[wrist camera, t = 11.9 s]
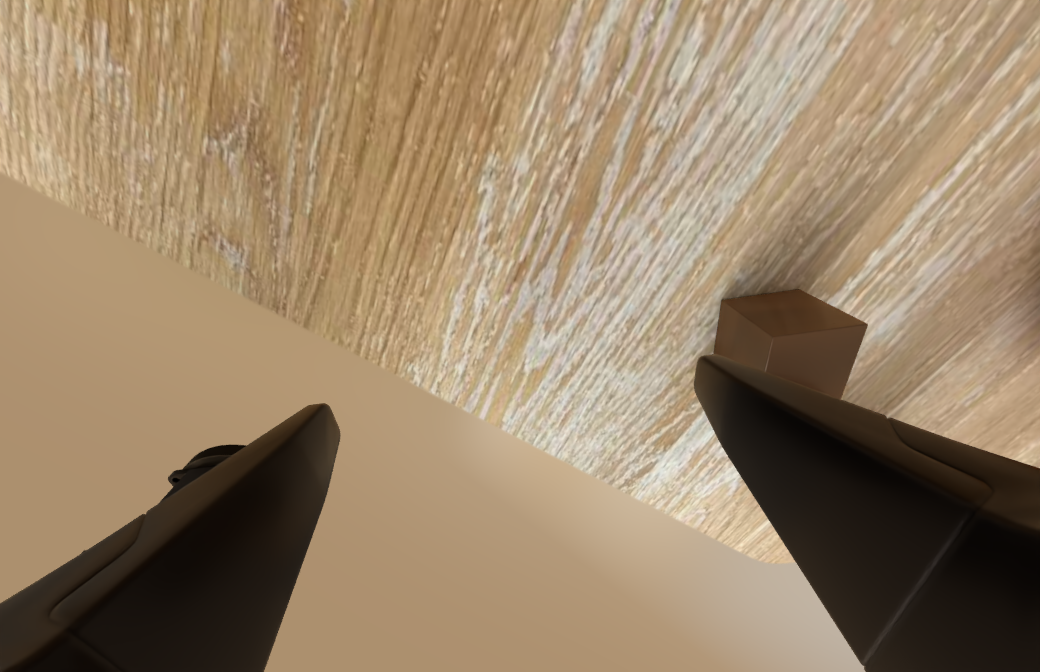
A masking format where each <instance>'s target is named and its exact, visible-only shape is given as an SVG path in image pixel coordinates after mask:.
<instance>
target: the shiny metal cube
mask: <svg viewBox="0 0 1040 672" xmlns="http://www.w3.org/2000/svg"><path fill="white" fill-rule="evenodd" d="M867 326H868V324H867V323H865V322H863V321H861V320H859V319H857V318H855V317H853V316H851V315H849V314H847V313H845V312H843V311H841V310H839V309H837V308H835V307H833V306H831V305H829V304H827V303H825V302H823V301H822V300H820V299H818V298H816V297H814V296H812V295H810V294H808V293H806V292H804V291H802V290H800V289H798V290H791V291H783V292H776V293H769V294H761V295H754V296H747V297H739V298H732V299H725V300H722V302H721V309H720V315H719V322H718V329H717V335H716V342H715V349H714V354H718V355H721V356H724V357H727V358H729V359H732V360H735V361H737V362H740V363H743V364H746V365H748V366H751V367H754V368H757V369H759V370H762V371H765V372H767V373H770V374H773V375H776V376H778V377H781V378H784V379H786V380H789V381H792V382H795V383H797V384H800V385H803V386H805V387H808V388H811V389H814V390H816V391H819V392H822V393H825V394H827V395H830V396H833V397H835V398H838V399H841V397H842V394H843V392H844V389H845V386H846V383H847V381H848V378H849V375H850V373H851V370H852V367H853V364H854V362H855V359H856V356H857V353H858V351H859V348H860V345H861V342H862V340H863V337H864V334H865V331H866V329H867Z"/></svg>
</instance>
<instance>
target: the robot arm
mask: <svg viewBox="0 0 1040 672" xmlns="http://www.w3.org/2000/svg"><path fill="white" fill-rule="evenodd" d="M694 389H695V393H696V395H697V397H698V399H699V401H700V403H701V405H702V407H703V409H704V411H705V414H706V416H707V418H708V420H709V422H710V424H711V426H712V428H713V430H714V432H715V434H716V436H717V438H718V440H719V442H720V443H721V445H722V447H723V449H724V450H725V452H726V454H727V455H728V457H729V458H730V460H731V461H732V463H733V465H734V466H735V468H736V469H737V471H738V472H739V474H740V475H741V477H742V479H743V480H744V482H745V483H746V485H747V486H748V488H749V490H750V491H751V493H752V494H753V496H754V497H755V499H756V500H757V502H758V504H759V505H760V507H761V508H762V510H763V511H764V513H765V515H766V516H767V518H768V519H769V521H770V522H771V524H772V525H773V527H774V529H775V530H776V532H777V533H778V535H779V536H780V538H781V540H782V541H783V543H784V544H785V546H786V547H787V549H788V550H789V552H790V554H791V555H792V557H793V558H794V560H795V561H796V563H797V564H798V566H799V568H800V569H801V571H802V572H803V574H804V575H805V577H806V578H807V580H808V581H809V583H810V585H811V586H812V588H813V589H814V591H815V593H816V594H817V596H818V597H819V599H820V600H821V602H822V603H823V605H824V607H825V608H826V610H827V611H828V613H829V614H830V616H831V618H832V619H833V621H834V622H835V624H836V625H837V627H838V629H839V630H840V631H841V633H842V635H843V636H844V638H845V639H846V641H847V642H848V644H849V646H850V647H851V649H852V650H853V652H854V654H855V655H856V657H857V658H858V660H859V661H860V663H861V664H862V665H863V666H865V667H864V670H865V671H866V672H1040V468H1037V467H1034V466H1031V465H1028V464H1024V463H1021V462H1018V461H1015V460H1012V459H1009V458H1006V457H1003V456H1000V455H997V454H994V453H990V452H987V451H984V450H981V449H978V448H975V447H972V446H969V445H966V444H963V443H960V442H957V441H954V440H951V439H948V438H946V437H943V436H940V435H937V434H934V433H932V432H929V431H926V430H923V429H920V428H917V427H915V426H912V425H909V424H906V423H904V422H901V421H898V420H896V419H893V418H888V419H887V417H886V416H884V415H882V414H879V413H876V412H874V411H871V410H868V409H865V408H863V407H860V406H857V405H854V404H852V403H849V402H846V401H844V400H841V399H838V398H835V397H833V396H830V395H827V394H825V393H822V392H819V391H816V390H814V389H811V388H808V387H805V386H803V385H800V384H797V383H795V382H792V381H789V380H786V379H784V378H781V377H778V376H776V375H773V374H770V373H767V372H765V371H762V370H759V369H757V368H754V367H751V366H748V365H746V364H743V363H740V362H737V361H735V360H732V359H729V358H727V357H724V356H721V355H718V354H712V355H704V356H701V357H699V359H698V361H697V366H696V373H695V380H694ZM339 442H340V429H339V427H338V424H337V422H336V420H335V417H334V415H333V413H332V410H331V409H330V407H329V405H327V404H325V403H323V404H314V405H309V406H307V407H305V408H303V409H302V410H300V411H299V412H297V413H296V414H294V415H293V416H291V417H290V418H288V419H287V420H285V421H284V422H282V423H281V424H279V425H278V426H276V427H275V428H273V429H272V430H270V431H268V432H267V433H265V434H264V435H262V436H261V437H260V438H258V439H257V440H255V441H253V442H252V443H250V444H249V445H247V446H246V447H244V448H243V449H241V450H240V451H238V452H237V453H235V454H234V455H232V456H230V457H229V458H227V459H226V460H224V461H223V462H221V463H220V464H218V465H212V466H205V467H197V468H190V469H183V470H176V471H174V472H173V473H172V474H171V475H170V476H169V477H168V480H169V482H170V483H171V484H172V486H173V488H172V489H171V490H170V492H169V493H168V494H167V495H166V496H165V497H164V498H163V499H162V500H161V502H160V503H159V504H158V505H156V506H154V507H153V508H151V509H150V510H148V511H147V513H146V514H142V515H141V516H139V517H138V518H136V519H134V520H133V521H132V522H130V523H128V524H127V525H125V526H124V527H122V528H121V529H119V530H118V531H116V532H115V533H113V534H112V535H110V536H108V537H107V538H105V539H104V540H103V541H101V542H99V543H97V544H96V545H94V546H93V547H91V548H90V549H88V550H86V551H83V552H82V553H81V554H80V555H79V556H77V557H76V558H74V559H72V560H71V561H69V562H67V563H66V564H64V565H63V566H61V567H59V568H58V569H56V570H54V571H53V572H51V573H49V574H48V575H46V576H45V577H43V578H41V579H40V580H38V581H36V582H35V583H33V584H31V585H30V586H28V587H26V588H25V589H23V590H22V591H20V592H18V593H17V594H15V595H13V596H12V597H10V598H8V599H7V600H5V601H3V602H2V603H0V672H264V670H265V667H266V664H267V661H268V659H269V656H270V653H271V650H272V647H273V644H274V642H275V639H276V636H277V633H278V630H279V628H280V625H281V622H282V619H283V617H284V614H285V611H286V608H287V605H288V603H289V600H290V597H291V594H292V591H293V589H294V586H295V583H296V580H297V577H298V575H299V572H300V569H301V566H302V563H303V561H304V558H305V555H306V552H307V549H308V547H309V544H310V541H311V538H312V535H313V532H314V530H315V527H316V524H317V521H318V518H319V516H320V513H321V510H322V507H323V504H324V501H325V498H326V495H327V491H328V488H329V483H330V479H331V475H332V471H333V467H334V462H335V458H336V454H337V450H338V445H339Z"/></svg>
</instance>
